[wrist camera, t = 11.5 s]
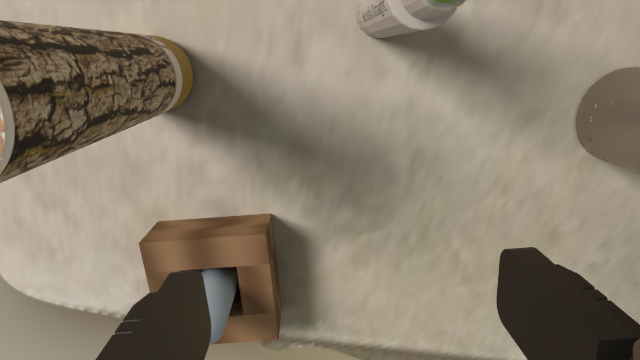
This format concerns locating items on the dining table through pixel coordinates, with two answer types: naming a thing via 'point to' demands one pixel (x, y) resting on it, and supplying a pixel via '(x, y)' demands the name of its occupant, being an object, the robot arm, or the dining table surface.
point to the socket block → (218, 252)
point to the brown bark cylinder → (79, 88)
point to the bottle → (403, 15)
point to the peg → (220, 297)
